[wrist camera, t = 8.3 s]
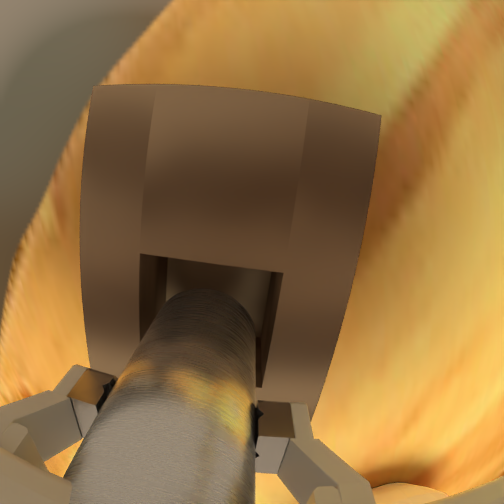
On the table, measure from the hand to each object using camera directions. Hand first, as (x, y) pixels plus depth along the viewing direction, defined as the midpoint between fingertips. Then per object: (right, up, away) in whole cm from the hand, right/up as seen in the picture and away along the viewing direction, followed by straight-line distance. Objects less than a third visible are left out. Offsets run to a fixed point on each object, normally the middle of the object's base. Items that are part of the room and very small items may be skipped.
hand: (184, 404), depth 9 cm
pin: (0, +1, +4) cm, 5 cm away
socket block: (0, +3, +10) cm, 11 cm away
